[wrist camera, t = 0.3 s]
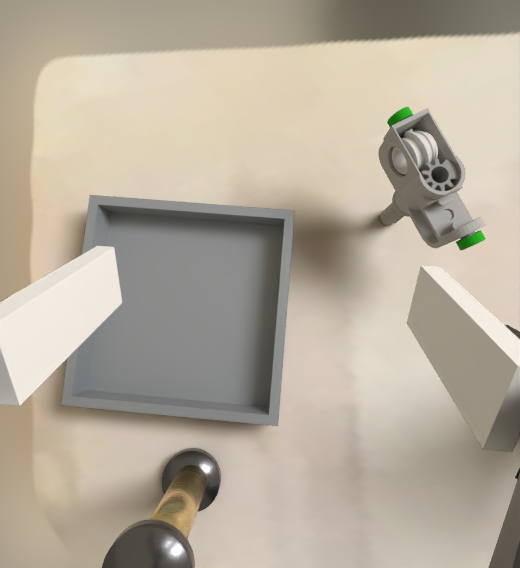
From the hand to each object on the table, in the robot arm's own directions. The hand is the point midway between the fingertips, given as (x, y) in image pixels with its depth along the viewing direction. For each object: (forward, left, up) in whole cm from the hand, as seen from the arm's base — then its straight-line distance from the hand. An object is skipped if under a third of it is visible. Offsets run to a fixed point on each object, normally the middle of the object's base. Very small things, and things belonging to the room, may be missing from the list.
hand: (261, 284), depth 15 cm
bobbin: (-16, +5, -17) cm, 24 cm away
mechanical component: (+9, -11, -17) cm, 22 cm away
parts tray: (-1, +7, -17) cm, 18 cm away
